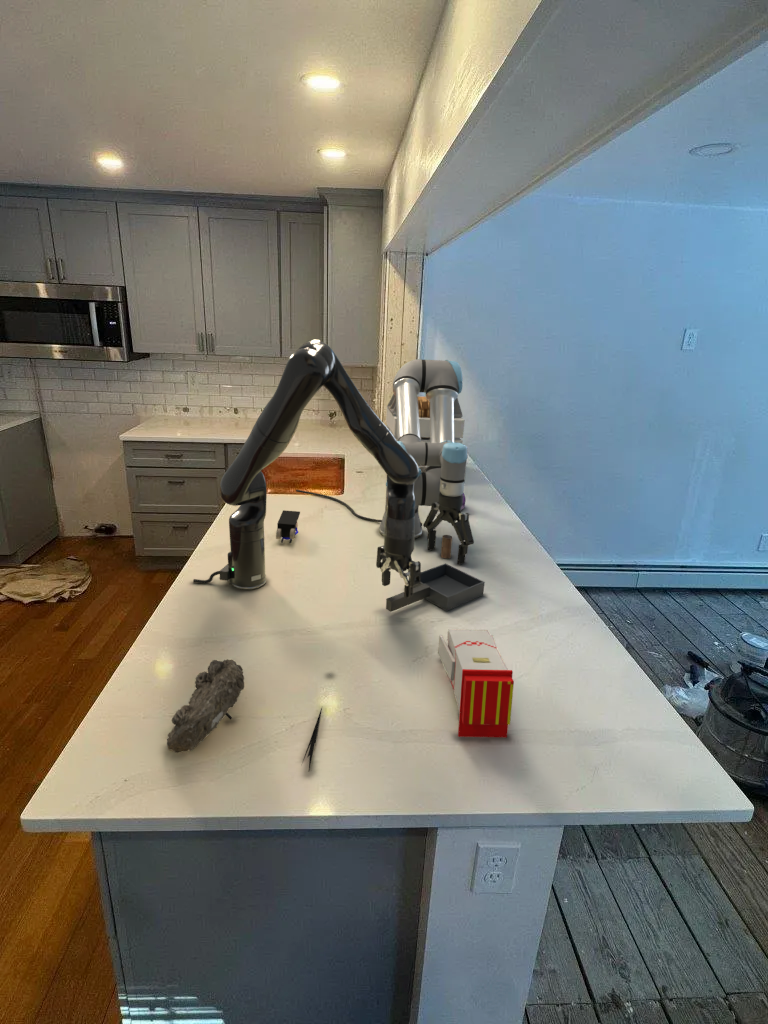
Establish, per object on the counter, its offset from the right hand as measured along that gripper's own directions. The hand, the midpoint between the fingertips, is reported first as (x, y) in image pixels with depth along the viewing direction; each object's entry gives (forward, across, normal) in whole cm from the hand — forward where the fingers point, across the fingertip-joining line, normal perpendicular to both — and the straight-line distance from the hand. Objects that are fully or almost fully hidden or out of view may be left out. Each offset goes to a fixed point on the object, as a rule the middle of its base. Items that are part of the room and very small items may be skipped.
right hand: (445, 556), depth 183 cm
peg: (0, 0, 0) cm, 0 cm away
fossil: (0, +26, -91) cm, 95 cm away
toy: (0, +51, -46) cm, 69 cm away
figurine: (0, -31, +38) cm, 49 cm away
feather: (0, +39, -76) cm, 85 cm away
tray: (0, +17, -25) cm, 30 cm away
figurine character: (0, -42, -33) cm, 53 cm away
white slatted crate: (0, -76, +62) cm, 98 cm away
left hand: (-6, +17, -37) cm, 42 cm away
